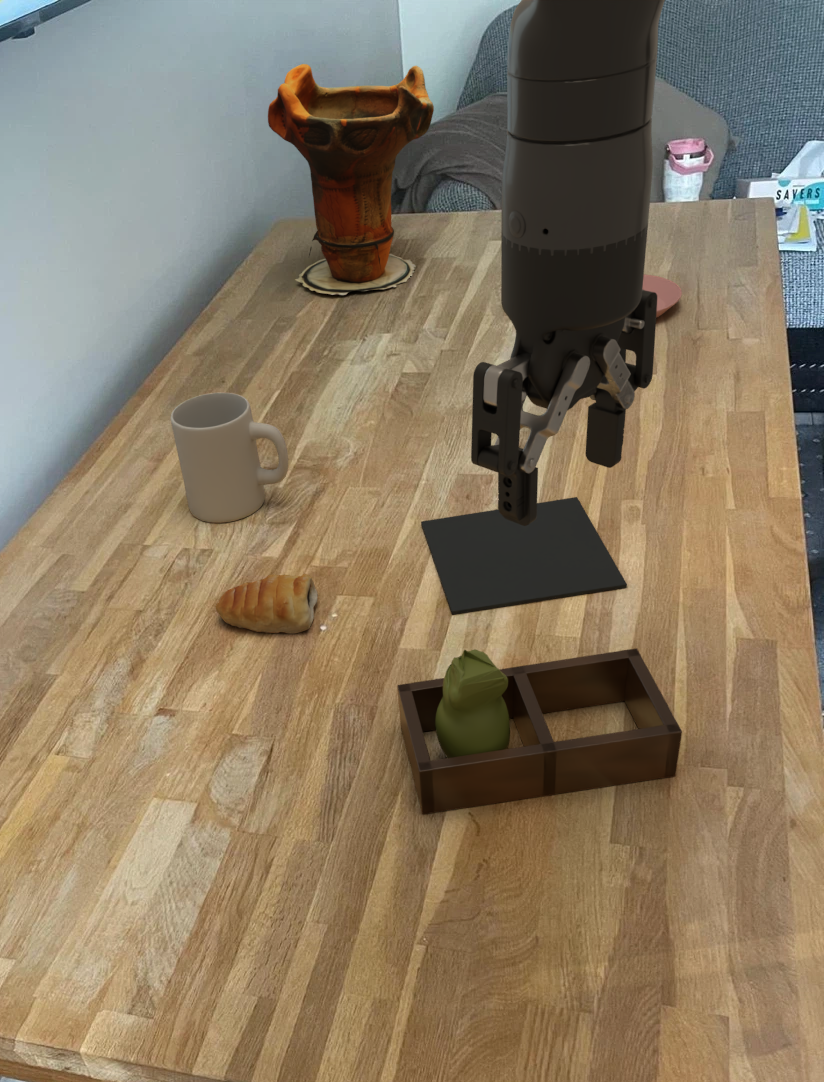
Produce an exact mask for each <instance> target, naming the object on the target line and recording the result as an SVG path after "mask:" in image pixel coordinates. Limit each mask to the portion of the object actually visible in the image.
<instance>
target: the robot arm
mask: <svg viewBox="0 0 824 1082" xmlns="http://www.w3.org/2000/svg"><path fill="white" fill-rule="evenodd" d="M665 1H666V0H520V1H519V3H518V4H517V6H516V8H515V9H514V11H513V13H512V18H511V21H510V26H509V30H508V31H509V32H508V41H507V42H508V43H507V58H506V59H507V60H506V61H507V62H506V63H507V66H506V67H507V68H506V69H507V71H506V72H507V75H506V76H507V77H506V81H507V82H506V98H507V99H506V128H507V129H506V141H505V142H506V143H505V151H504V158H503V164H502V174H501V175H502V176H501V216H500V217H501V229H500V230H501V232H500V233H501V235H500V236H501V238H500V239H501V240H500V241H501V245H500V246H501V249H500V250H501V252H500V253H501V254H500V255H501V256H500V257H501V260H500V261H501V262H500V263H501V265H500V268H501V270H500V273H501V277H500V278H501V279H500V280H501V281H500V285H501V286H500V287H501V288H500V290H501V291H500V303H501V308H502V310H503V312H504V313H505V315H506V316H507V317H508V319H509V320H510V322H511V323H512V326H513V327H514V330H515V339H514V343H513V348H512V351H511V353H510V358H509V359H507V360H505V361H503V362H500V364H497V365H496V364H493V363H489V362H486V361H481V362H479V363H478V364H477V365H476V367H475V368H474V371H473V376H472V407H471V408H472V410H471V412H472V413H471V444H470V446H471V449H470V450H471V451H470V460H471V463H472V464H473V465H475V466H478V467H481V468H484V469H486V470H490V471H492V472H495V473H497V480H498V481H497V493H498V494H497V499H498V500H497V509H499V512H500V514H502V516H503V517H504V518H505V519H507V520H510V521H513V522H515V523H518V524H520V525H523V526H527V525H528V524H530V523H531V522H533V521H534V520H535V519H536V517H537V503H538V490H539V489H538V486H539V484H538V482H539V467H537V465H538V462H539V460H540V458H541V456H542V453H543V450H544V448H545V445H546V443H547V441H548V439H549V438H550V437H553V436H556V435H557V434H558V433H559V431H560V429H561V427H562V424H563V422H564V419H565V417H566V414H567V413H568V411H570V410H571V409H573V407H574V406H576V405H577V404H578V402H579V401H580V400H583V399H587V398H590V399H591V400H592V401H595V402H593V403H592V404H590V405H588V406H587V420H586V421H587V422H586V437H585V438H586V439H585V458H586V459H587V461H589V462H590V463H592V464H596V465H598V466H602V467H605V468H608V469H610V468H613V467H615V466H616V465H617V464H619V463H621V460H622V454H623V453H622V452H623V445H624V439H625V438H624V435H625V426H626V425H625V424H626V414H627V413H626V412H627V410H628V409H630V407H631V406H632V405H633V403H634V400H635V397H636V396H635V395H636V393H635V392H636V391H637V390H638V388H640V389H647V388H648V387H649V386H650V384H651V383H652V381H653V380H652V379H653V377H654V376H653V375H654V361H655V359H654V358H655V343H656V330H657V329H656V328H657V327H656V326H657V318H656V313H657V294H656V293H655V292H650V291H645V290H643V289H642V288H643V276H644V274H645V262H646V251H647V241H648V229H649V219H650V206H651V195H652V182H653V167H654V166H653V165H654V161H653V159H654V157H653V156H654V155H653V141H652V140H653V139H652V138H653V137H652V125H653V118H652V117H653V112H654V99H655V88H656V75H657V74H656V73H657V65H658V64H657V63H658V50H659V49H658V46H659V24H660V19H661V14H662V11H663V8H664V5H665ZM627 351H630V352H633V353H634V355H635V364H632V363H629V362H626V361H627ZM527 398H528V399H529V401H530V402H531V403H532V404H533V405H534V406H536V407H539V408H543V409H546V410H545V412H544V413H542V414H534V413H532V412H527V411H525V410H524V404H525V401H526V399H527ZM523 428H526V429H529V430H530V431H529V435H528V438H527V440H526V442H525V445H524V447H520V438H521V437H520V436H521V430H522V429H523ZM492 434H494V435H496V436H497V437H496V440H495V442H494V444H492V436H493V435H492Z"/></svg>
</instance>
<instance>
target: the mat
mask: <svg viewBox="0 0 824 1082" xmlns="http://www.w3.org/2000/svg"><path fill="white" fill-rule="evenodd" d="M420 525H421V529H422V531H423V534H424V538H425V540H426V543H427V545H428V548H429V551H430V554H431V557H432V560H433V563H434V567H435V569H436V572H437V575H438V579H439V581H440V584H441V587H442V589H443V593H444V595H445V598H446V601H447V604H448V607H449V609H450V613H451V615H459V614H465V613H470V612H471V613H472V612H479V611H485V610H491V609H497V608H503V607H504V608H505V607H510V606H511V607H512V606H515V605H516V606H517V605H522V604H523V605H524V604H529V603H531V604H532V603H537V602H543V601H549V600H556V599H562V598H568V597H575V596H582V595H588V594H593V593H600V592H607V591H613V590H621V589H626V588H628V582H626V580H625V578H624V577H623V575H622V573H621V571H620V570H619V568H618V566H617V564H616V562H615V560H614V559H613V557H612V555H611V554H610V551H609V550H608V548H607V546H606V545H605V543H604V541H603V540H602V538H601V536H600V534H599V533H598V531H597V529H596V528H595V526H594V524H593V523H592V520H591V519H590V517H589V515H588V513H587V512H586V510H585V507H583V505H582V503H581V501H580V500H579V498H578V497H577V496H574V497H568V498H567V497H566V498H561V499H555V500H549V501H542V502H537V517H536V519H535V520H534V521H533V522H531V523H530V524H528V525H527V526H523V525H520V524H518V523H515V522H513V521H510V520H507V519H505V518H504V517H503V516H502V514H500V512H499V509H498V508H497V509H492V510H491V509H490V510H485V511H479V512H471V513H467V514H461V515H460V514H459V515H454V516H447V517H440V518H435V519H429V520H423V521H420Z"/></svg>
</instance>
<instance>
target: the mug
mask: <svg viewBox="0 0 824 1082" xmlns="http://www.w3.org/2000/svg"><path fill="white" fill-rule="evenodd" d="M170 413H171V414H170V425H171V429H172V434H173V438H174V443H175V447H176V453H177V458H178V462H179V467H180V470H181V476H182V481H183V486H184V490H185V497H186V503H187V507H188V510H189V511H190V514H191V515H192V516H193V517H195V518H196V519H197V520H200V521H203V522H207V523H216V524H222V523H223V524H224V523H231V522H235V521H238V520H242V519H244V518H247V517H249V516H251V515H252V514H254V513H255V512H257V511H258V510H259V509H260V508H261V507H262V506H263V505H264V503H265V499H266V491H265V485H275V484H279V483H280V482H282V481H283V480H284V479H285V478H286V476H287V474H288V472H289V471H288V469H289V451H288V447H287V443H286V440H285V438H284V435H283V433H282V432H281V430H280V429H279V428H278V427H277V426H275V425H272V424H269V423H265V422H257V421H254V417H253V413H252V408H251V404H250V402H249V400H248V398H246V397H245V396H243V395H241V394H238V393H233V392H220V391H219V392H211V393H204V394H200V395H197V396H194V397H191V398H188V399H186V400H184V401H183V402H181V403H179V404H178V405H176V407H174V408H173V410H172V412H170ZM260 439H267V440H269V441H271V442H272V443H273V445H274V446H275V449H276V452H277V457H278V464H277V467H276V468H274V469H267V468H264V467H262V466H261V461H260V455H259V450H258V443H257V440H260Z"/></svg>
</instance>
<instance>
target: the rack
mask: <svg viewBox="0 0 824 1082" xmlns="http://www.w3.org/2000/svg"><path fill="white" fill-rule="evenodd" d="M498 669H499V668H498ZM499 670H500V671H501V672H502V673H504V674H505V675H506V677H507V679H508V686H507V689H506V690H505V692H504V693H503V694H502V697H503V699H504V701H505V704H506V706H507V710H508V715H509V719H513V722H514V724H515V727H516V729H517V732H518V735H519V737H520V740H521V743H522V745H523V746H519V747H518V746H517V747H512V748H511V747H510V748H507V749H504V750H498V751H491V752H484V753H478V754H471V755H465V756H458V757H452V758H447V757H446V758H440V759H439V758H438V759H433V760H431V758H430V754H429V750H428V746H427V742H426V739H425V735H424V732H430V731H436V726H435V719H436V712H437V708H438V706H439V703H440V701H441V699H442V698H443V681H444V677H441V678H433V679H429V680H421V681H415V682H408V683H401V684H397V685H396V686H397V698H398V699H397V700H398V710H399V723H400V730H401V735H402V738H403V742H404V746H405V750H406V754H407V758H408V759H407V760H408V762H409V766H410V770H411V775H412V778H413V783H414V787H415V791H416V795H417V799H418V802H419V808H420V812H421V815H428V814H434V813H439V812H440V813H441V812H447V811H453V810H460V809H466V808H473V807H478V806H486V805H492V804H493V805H494V804H498V803H506V802H512V801H519V800H525V799H533V798H538V797H545V796H547V797H548V796H554V795H558V794H565V793H571V792H579V791H586V790H591V789H597V788H604V787H612V786H618V785H626V784H632V783H637V782H645V781H651V780H658V779H665V778H671V777H676V776H677V769H678V761H679V755H680V750H681V741H682V736H683V735H682V734H683V731H682V728H681V727H680V725H679V723H678V721H677V720H676V718H675V716H674V714H673V712H672V710H671V709H670V707H669V705H668V702H667V701H666V699H665V698H664V695H663V694H662V692H661V690H660V688H659V686H658V684H657V683H656V681H655V679H654V677H653V675H652V674H651V672H650V670H649V668H648V666H647V665H646V662H645V661H644V659H643V657H642V655H641V653H640V651H639V649H638V648H631V649H630V648H629V649H623V650H616V651H611V652H605V653H604V652H603V653H597V654H590V655H585V656H583V655H582V656H578V657H571V658H564V659H558V660H552V661H551V660H550V661H545V662H539V663H532V664H531V663H530V664H526V665H520V666H519V665H518V666H512V667H507V668H500V669H499ZM620 702H624V703H625V705H626V706H627V708H628V711H629V713H630V715H631V717H632V718H633V721H634V723H635V725H636V726H637V728H636V729H630V730H624V731H617V732H611V733H604V734H598V735H591V736H584V737H577V738H570V739H565V740H564V739H563V740H557V741H554V739H553V736H552V734H551V732H550V729H549V727H548V724H547V722H546V719H545V717H544V714H549V713H554V712H562V711H567V710H575V709H581V708H587V707H594V706H599V705H600V706H602V705H609V704H613V703H620Z"/></svg>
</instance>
